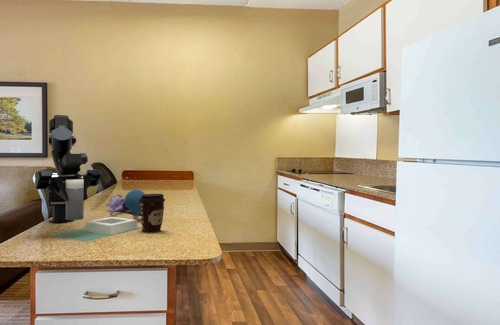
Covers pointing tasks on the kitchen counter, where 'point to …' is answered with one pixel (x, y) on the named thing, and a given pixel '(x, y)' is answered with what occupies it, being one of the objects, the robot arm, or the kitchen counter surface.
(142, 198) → the coffee cup
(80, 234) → the board
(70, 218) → the dome-topped cylinder
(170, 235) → the kitchen counter surface
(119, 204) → the toy
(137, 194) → the light bulb
